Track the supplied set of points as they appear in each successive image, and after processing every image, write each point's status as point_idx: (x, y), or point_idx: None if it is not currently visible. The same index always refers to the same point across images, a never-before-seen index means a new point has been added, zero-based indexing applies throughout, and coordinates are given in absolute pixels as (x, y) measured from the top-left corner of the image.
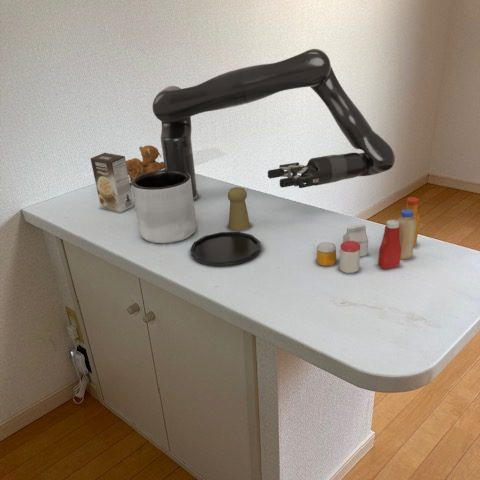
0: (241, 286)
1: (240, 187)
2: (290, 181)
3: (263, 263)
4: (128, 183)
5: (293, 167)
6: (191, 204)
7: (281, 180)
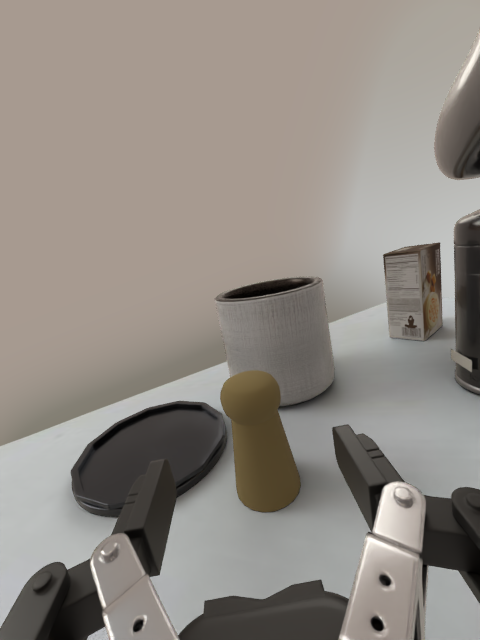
0: (18, 463)
1: (258, 384)
2: (121, 520)
3: (35, 509)
4: (419, 299)
5: (354, 592)
6: (245, 350)
7: (151, 464)
